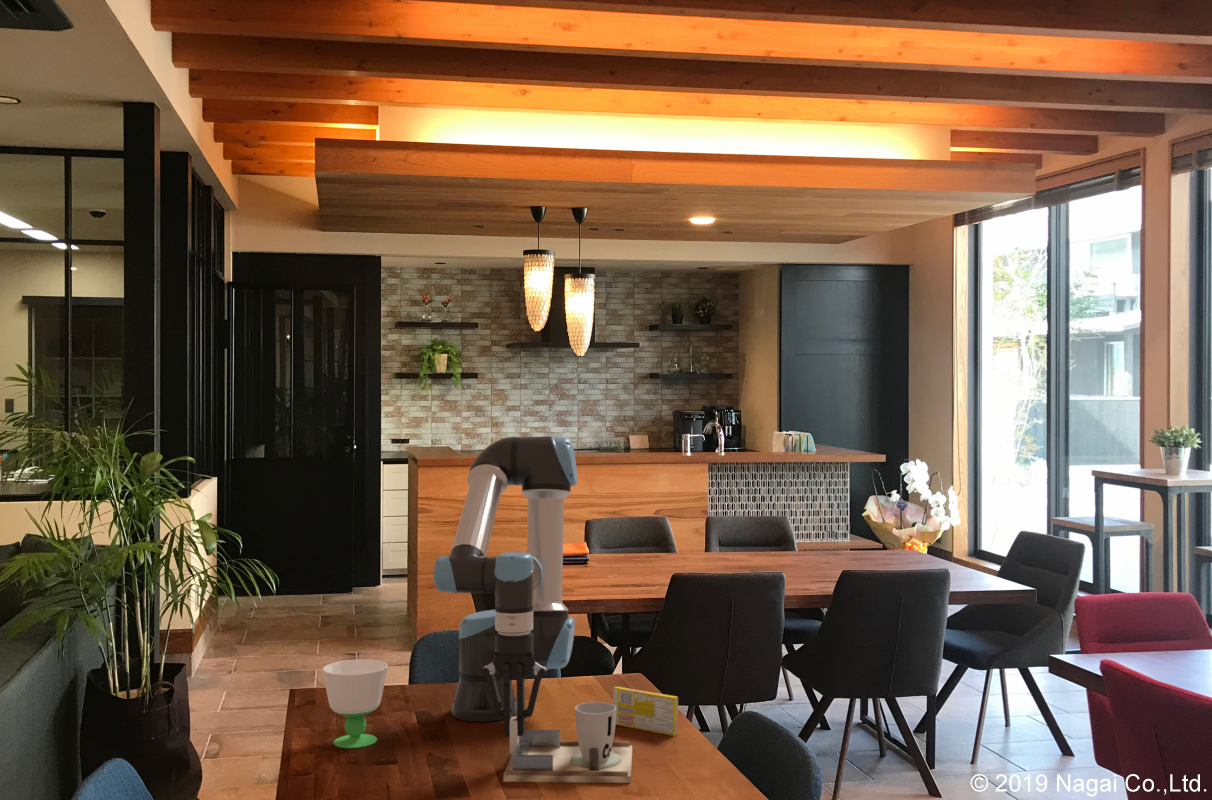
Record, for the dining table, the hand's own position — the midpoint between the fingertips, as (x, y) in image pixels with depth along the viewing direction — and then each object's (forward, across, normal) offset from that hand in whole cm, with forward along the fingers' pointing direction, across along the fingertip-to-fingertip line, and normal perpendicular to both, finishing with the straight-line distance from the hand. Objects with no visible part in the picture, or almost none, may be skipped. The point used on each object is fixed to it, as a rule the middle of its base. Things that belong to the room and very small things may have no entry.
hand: (514, 751), depth 199 cm
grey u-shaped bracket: (+1, +5, 0) cm, 5 cm away
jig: (+3, +11, 0) cm, 11 cm away
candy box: (+3, +25, +25) cm, 35 cm away
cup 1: (+3, -36, +13) cm, 38 cm away
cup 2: (+1, +16, 0) cm, 16 cm away
